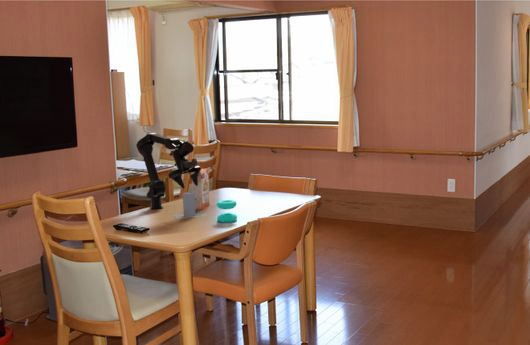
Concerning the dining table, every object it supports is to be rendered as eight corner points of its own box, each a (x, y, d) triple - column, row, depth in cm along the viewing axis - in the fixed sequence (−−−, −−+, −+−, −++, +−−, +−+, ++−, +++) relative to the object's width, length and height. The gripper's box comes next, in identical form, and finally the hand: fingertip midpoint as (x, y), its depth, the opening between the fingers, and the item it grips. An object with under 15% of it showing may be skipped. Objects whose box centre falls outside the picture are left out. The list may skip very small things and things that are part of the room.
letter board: (172, 215, 338) (172, 214, 338) (202, 212, 343) (202, 212, 343) (176, 220, 327) (176, 219, 327) (207, 217, 331) (207, 216, 331)
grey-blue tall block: (183, 215, 335) (182, 193, 333) (190, 214, 338) (189, 191, 336) (188, 217, 332) (187, 194, 330) (195, 215, 335) (194, 192, 333)
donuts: (224, 198, 327) (240, 200, 322) (224, 217, 329) (241, 219, 323) (212, 202, 319) (228, 203, 314) (213, 222, 320) (229, 223, 315)
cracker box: (203, 210, 350) (201, 172, 347) (192, 209, 351) (190, 172, 348) (210, 204, 364) (208, 168, 361) (200, 204, 365) (198, 168, 362)
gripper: (175, 155, 329) (186, 183, 326) (201, 151, 343) (212, 178, 340) (163, 164, 336) (173, 191, 333) (189, 160, 350) (200, 186, 347)
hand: (190, 186), depth 338 cm, fingers open, 9 cm apart
